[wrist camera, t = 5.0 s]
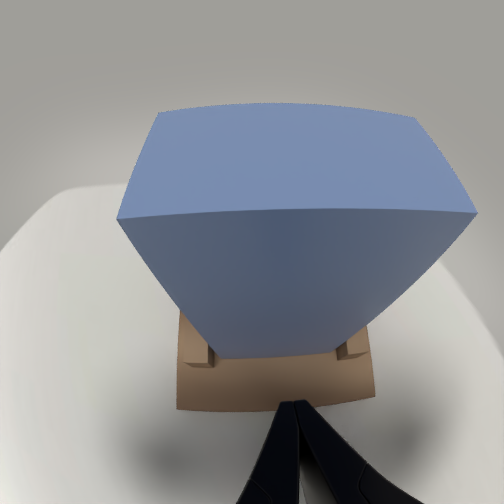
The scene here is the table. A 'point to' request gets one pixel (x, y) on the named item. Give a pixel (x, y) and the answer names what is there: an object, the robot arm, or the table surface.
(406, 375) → the table surface
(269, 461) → the robot arm
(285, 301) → the blue rectangular block
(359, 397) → the housing
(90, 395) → the table surface
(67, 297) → the table surface
